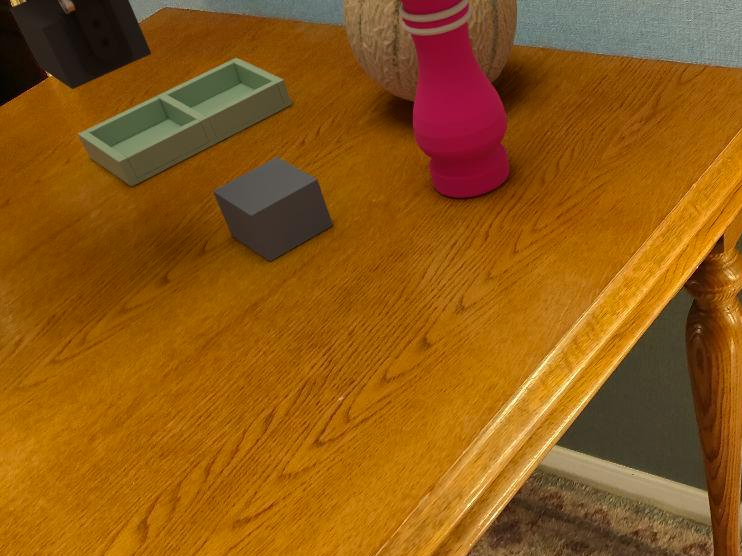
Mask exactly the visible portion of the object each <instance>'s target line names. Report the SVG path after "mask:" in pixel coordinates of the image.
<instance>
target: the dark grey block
mask: <svg viewBox="0 0 742 556" xmlns="http://www.w3.org/2000/svg"><path fill="white" fill-rule="evenodd" d="M109 1H110V3H111V6H112V8H113V10H114V12H115V15H116V17H117V19H118V22H119V24H120V26H121V28H122V31H123V33H124V35H125V37H126V40H127V42H128V44H129V46H130V49H131V51H132V54H133V58H132V59H131V60H130V61H128V62H126V63H124V64H122V65H120V66H117V67H115V68H113V69H111V70H108V71H106V72H104V73H102V74H99V75H97V76H93V75H91V74H90V73H88V72H87V71H86V69H85V67H84V65H83V62H82V60H81V58H80V56H79V54H78V52H77V50H76V48H75V46H74V44H73V42H72V40H71V38H70V35H69V33H68V31H67V29H66V27H65V25H64V23H63V21H62V19H61V17H60V15H59V13H61V12H63V11H64V10H63V8H62V7H61V5H60V3H59V2H58V0H28V1H26V0H25V1H23V2H20V3H19V4H18V3H17V4H16V5H13V6H10V7H9V11H10V12H11V15H12V17H13V18H14V20H15V22H16V24H17V26H18V29H19V30H20V32H21V34H22V36H23V39H25V41H26V44H27V46H28V48H29V49H30V52H31V54H32V56H33V57H34V59H35V61H36V64H37V65H38V67H39V69H42V70H43V71H44V72H45V73H48V74H49V75H50V76H52V77H54V79H56V80H58V81H59V82H61V83H62V84H63V85H65V86H66V87H68V88H70V89H71V90H75V89H76V88H79V87H81V86H83V85H86V84H88V83H90V82H92V81H94V80H97V79H100V78H102V77H103V76H105V75H108V74H110V73H112V72H115V71H117V70H119V69H121V68H123V67H126V66H128V65H130V64H133V63H134V62H137V61H140V60H141V59H143V58H145V57H148V56H150V55H152V51H151V50H150V49H151V48H150V46H149V45H148V42H147V40H146V37H145V35H144V32H143V30H142V28H141V26H140V23H139V21H138V18H137V17H136V14H135V11H134V9H133V7H132V4H131V2H130V0H109Z"/></svg>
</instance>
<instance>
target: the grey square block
mask: <svg viewBox="0 0 742 556" xmlns="http://www.w3.org/2000/svg"><path fill="white" fill-rule="evenodd" d="M212 193H213V196H214V198H215V200H216V202H217V205H218V207H219V209H220V212H221V214H222V216H223V218H224V221H225V223H226V225H227V228H228V230H229V233H230V235H231V236H232V237H233V238H234V239H236V240H237V241H238V242H240V243H241V244H243V245H245V246H246V247H247V248H249V249H250V250H252V251H253V252H255V253H256V254H258V255H259V256H260V257H262V258H264V260H266V261H268V262H272V261H273V260H275V259H277V258H279V257H281V256H282V255H284V254H286V253H288V252H289V251H291V250H293V249H296V248H297V247H298V246H300V245H302V244H304V243H305V242H307V241H308V240H310V239H312V238H314V237H315V236H317V235H319V234H321V233H323V232H325V231H326V230H328V229H329V228H331V227H333V226H334V223H333V221H332V217H331V215H330V212H329V209H328V206H327V204H326V201H325V198H324V195H323V192H322V189H321V185H320V183H319V180H318V179H317V177H314V176H312V175H310V174H309V173H307V172H305V171H304V170H301V169H299V168H298V167H297V166H294V165H292V164H291V163H289V162H287V161H285V160H284V159H282V158H280V157H278V156H276V157H274V158H272V159H270V160H269V161H266V162H264V163H262V164H261V165H258V166H257V167H255V168H254V169H252V170H250V171H248V172H246V173H244V174H242V175H240V176H238V177H236V178H234V179H233V180H231V181H229V182H226V183H225V184H223V185H222V186H220V187H218V188H216V189H214V190H212Z"/></svg>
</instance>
